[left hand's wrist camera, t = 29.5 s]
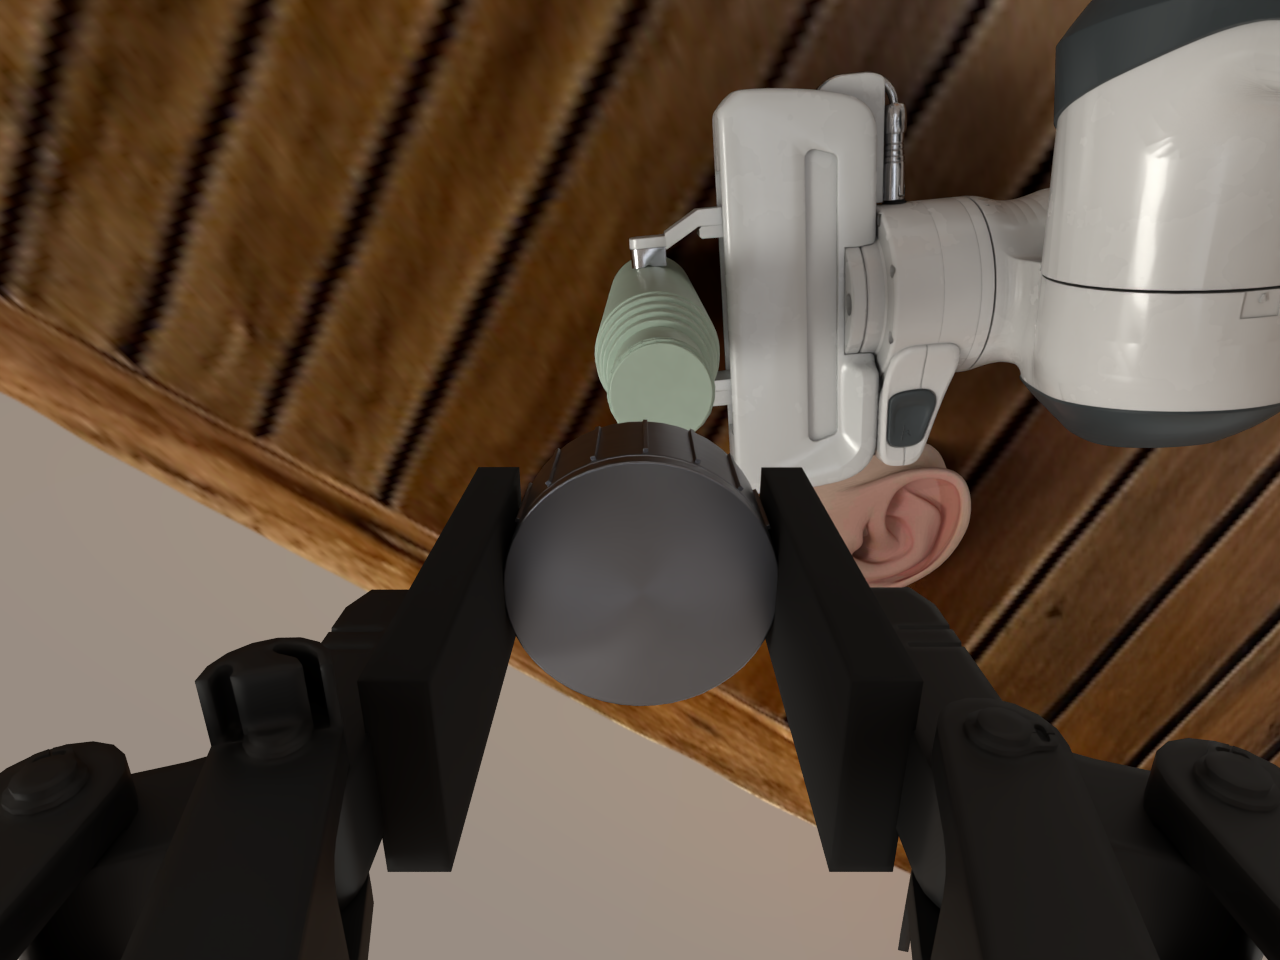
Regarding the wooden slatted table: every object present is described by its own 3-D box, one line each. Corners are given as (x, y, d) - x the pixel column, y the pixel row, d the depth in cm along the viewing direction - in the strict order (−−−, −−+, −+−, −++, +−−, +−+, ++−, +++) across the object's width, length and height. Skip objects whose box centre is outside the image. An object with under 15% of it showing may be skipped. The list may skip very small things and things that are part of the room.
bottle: (702, 267, 46) (759, 341, 24) (678, 347, 47) (711, 483, 26) (622, 243, 45) (606, 297, 23) (601, 325, 47) (567, 445, 25)
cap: (514, 413, 14) (492, 453, 12) (774, 421, 14) (798, 461, 12) (521, 635, 15) (503, 704, 13) (753, 641, 15) (770, 711, 13)
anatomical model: (754, 624, 50) (766, 458, 46) (746, 593, 53) (757, 438, 49) (956, 626, 50) (987, 461, 46) (934, 595, 53) (961, 440, 49)
